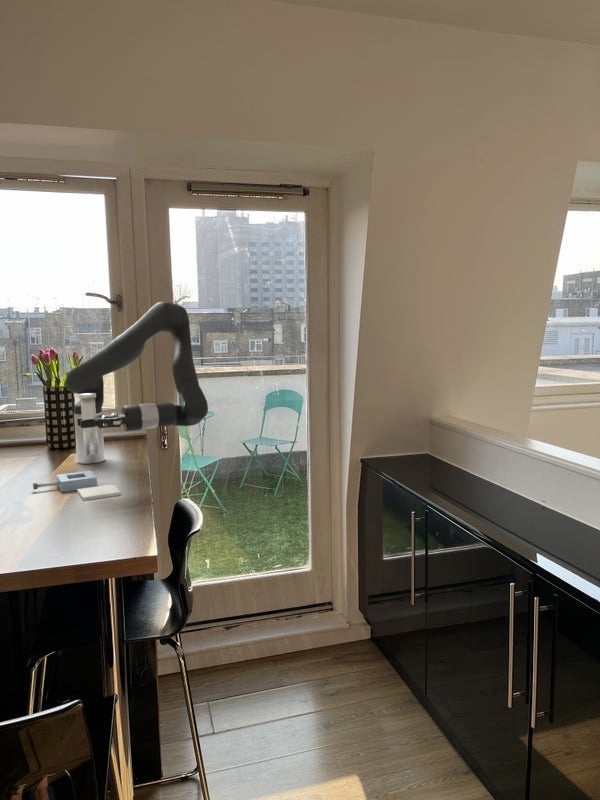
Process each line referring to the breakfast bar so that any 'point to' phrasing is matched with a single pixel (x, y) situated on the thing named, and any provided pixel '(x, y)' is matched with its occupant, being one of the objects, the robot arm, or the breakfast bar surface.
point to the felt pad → (98, 492)
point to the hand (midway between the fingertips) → (79, 423)
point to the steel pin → (90, 433)
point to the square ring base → (72, 481)
